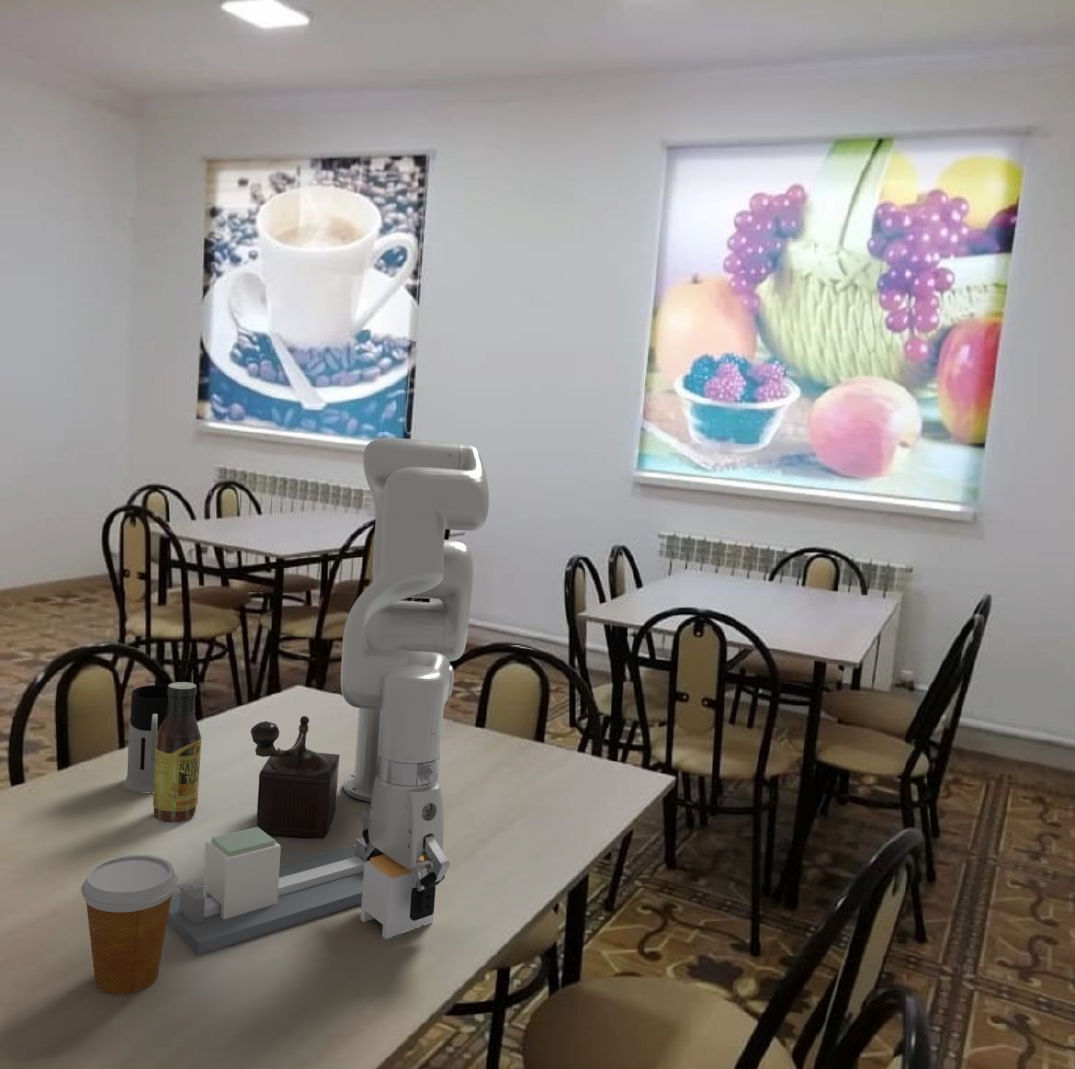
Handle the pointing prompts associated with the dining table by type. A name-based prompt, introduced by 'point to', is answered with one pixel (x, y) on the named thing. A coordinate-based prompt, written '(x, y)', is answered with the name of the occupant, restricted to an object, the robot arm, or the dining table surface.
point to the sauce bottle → (177, 757)
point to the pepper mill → (294, 786)
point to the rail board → (276, 912)
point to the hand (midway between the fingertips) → (398, 900)
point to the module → (389, 895)
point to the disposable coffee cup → (128, 919)
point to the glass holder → (145, 735)
